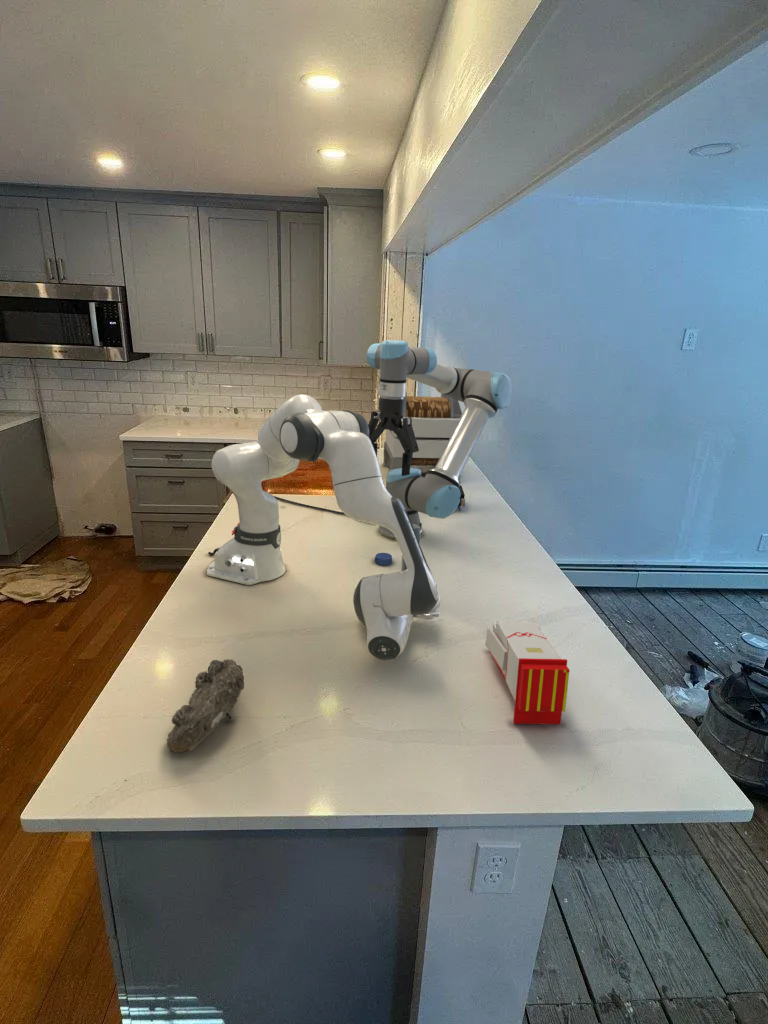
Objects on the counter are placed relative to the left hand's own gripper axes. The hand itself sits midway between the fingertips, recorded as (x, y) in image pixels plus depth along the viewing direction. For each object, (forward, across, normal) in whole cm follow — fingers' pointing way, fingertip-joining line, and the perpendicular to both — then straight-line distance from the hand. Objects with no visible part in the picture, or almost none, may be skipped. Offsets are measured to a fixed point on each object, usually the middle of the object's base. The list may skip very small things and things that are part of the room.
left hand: (403, 587), depth 148 cm
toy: (-25, -29, +6) cm, 39 cm away
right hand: (+28, +10, -24) cm, 38 cm away
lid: (+27, +10, +4) cm, 29 cm away
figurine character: (+87, -9, +6) cm, 88 cm away
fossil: (-50, +29, +6) cm, 59 cm away
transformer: (+132, +11, +6) cm, 133 cm away
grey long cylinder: (+11, 0, +6) cm, 13 cm away
